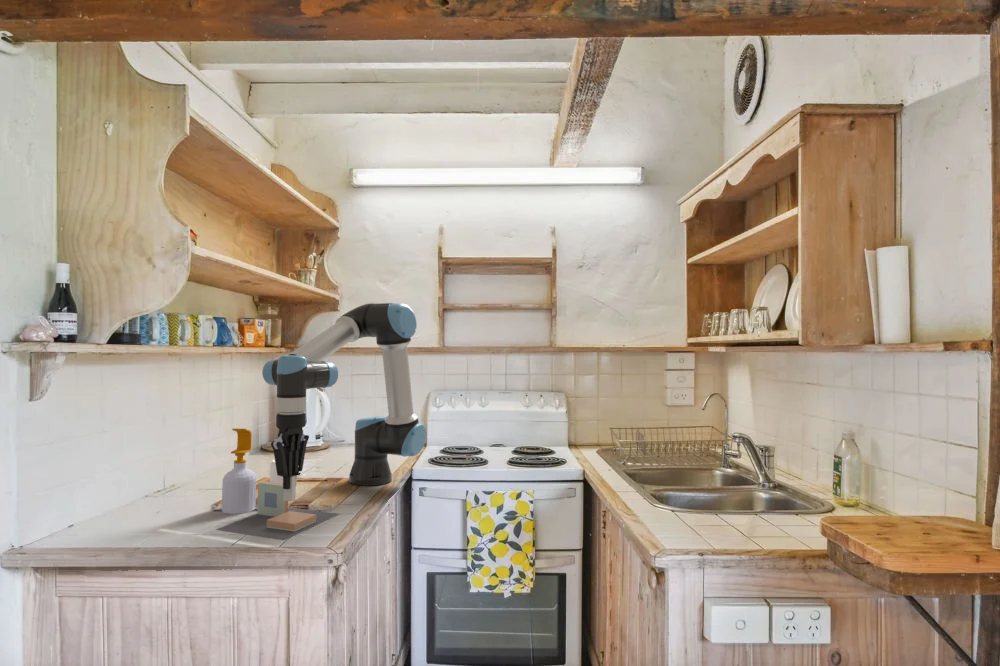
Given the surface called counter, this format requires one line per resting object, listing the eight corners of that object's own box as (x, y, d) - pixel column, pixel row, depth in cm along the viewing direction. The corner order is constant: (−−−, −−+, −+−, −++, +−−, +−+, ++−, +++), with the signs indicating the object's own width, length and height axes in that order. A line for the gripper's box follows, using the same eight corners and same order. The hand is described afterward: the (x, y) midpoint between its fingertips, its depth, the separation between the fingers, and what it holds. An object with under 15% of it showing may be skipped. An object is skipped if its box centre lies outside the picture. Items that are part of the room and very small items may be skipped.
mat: (277, 507, 177) (277, 505, 177) (339, 516, 170) (339, 514, 170) (215, 531, 154) (215, 529, 154) (284, 542, 147) (284, 540, 147)
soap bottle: (216, 515, 168) (218, 429, 168) (230, 506, 177) (232, 425, 177) (247, 516, 168) (249, 430, 168) (260, 507, 177) (262, 425, 177)
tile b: (262, 512, 170) (263, 481, 170) (288, 515, 167) (288, 484, 167) (257, 514, 168) (257, 482, 168) (283, 517, 165) (283, 485, 165)
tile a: (289, 510, 164) (266, 520, 156) (316, 514, 161) (295, 524, 153) (289, 518, 164) (266, 528, 156) (316, 522, 161) (294, 532, 153)
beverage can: (263, 499, 185) (264, 461, 186) (281, 493, 193) (282, 456, 193) (285, 502, 183) (285, 463, 183) (301, 495, 191) (302, 458, 191)
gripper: (295, 409, 165) (293, 492, 165) (262, 414, 153) (261, 505, 153) (317, 410, 163) (316, 495, 162) (286, 416, 150) (284, 508, 150)
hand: (289, 500), depth 158 cm, fingers closed
